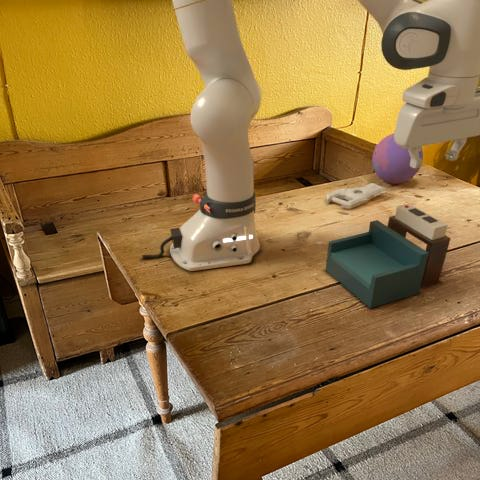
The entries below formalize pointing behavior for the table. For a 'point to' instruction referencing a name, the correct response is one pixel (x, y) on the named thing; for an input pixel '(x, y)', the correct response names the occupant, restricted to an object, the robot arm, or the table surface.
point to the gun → (355, 195)
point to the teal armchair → (377, 265)
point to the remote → (421, 221)
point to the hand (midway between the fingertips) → (433, 163)
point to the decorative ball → (393, 161)
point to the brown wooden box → (434, 247)
